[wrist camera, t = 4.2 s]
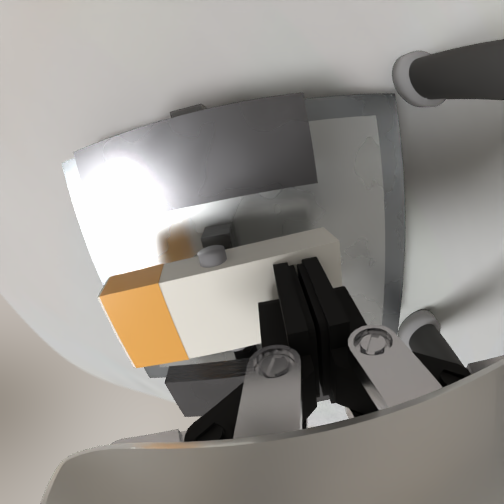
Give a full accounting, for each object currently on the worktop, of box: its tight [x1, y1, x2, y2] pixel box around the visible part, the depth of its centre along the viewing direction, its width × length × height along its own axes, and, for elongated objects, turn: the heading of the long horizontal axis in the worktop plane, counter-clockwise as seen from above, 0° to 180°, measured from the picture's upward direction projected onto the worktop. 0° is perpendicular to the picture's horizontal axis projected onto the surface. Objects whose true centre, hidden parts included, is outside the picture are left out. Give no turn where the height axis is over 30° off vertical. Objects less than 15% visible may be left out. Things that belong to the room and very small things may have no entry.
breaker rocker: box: [98, 227, 342, 368], centre depth 12 cm, size 9×4×2 cm, turn 101°
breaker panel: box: [62, 93, 405, 417], centre depth 14 cm, size 16×15×6 cm
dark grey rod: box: [398, 310, 463, 366], centre depth 11 cm, size 3×3×18 cm
